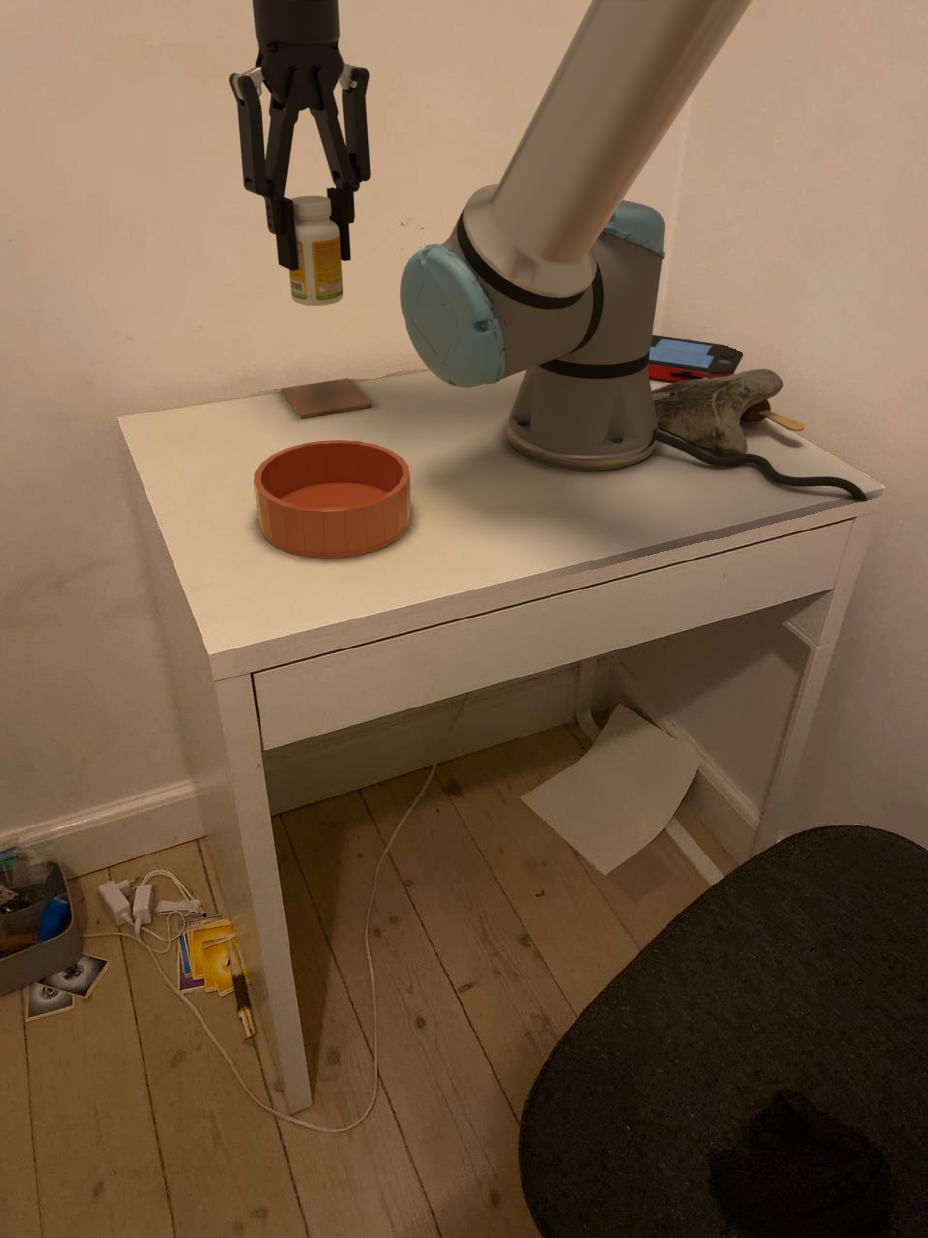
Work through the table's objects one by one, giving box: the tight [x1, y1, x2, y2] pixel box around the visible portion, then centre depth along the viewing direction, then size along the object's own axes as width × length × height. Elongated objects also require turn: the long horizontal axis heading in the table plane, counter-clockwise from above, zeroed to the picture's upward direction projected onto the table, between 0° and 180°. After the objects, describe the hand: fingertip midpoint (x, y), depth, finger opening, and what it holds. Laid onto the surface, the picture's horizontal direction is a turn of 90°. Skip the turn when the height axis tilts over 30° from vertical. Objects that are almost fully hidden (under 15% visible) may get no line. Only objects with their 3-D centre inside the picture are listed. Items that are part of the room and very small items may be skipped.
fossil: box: [652, 368, 784, 455], centre depth 100 cm, size 11×5×15 cm
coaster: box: [280, 377, 373, 419], centre depth 106 cm, size 8×8×1 cm
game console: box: [648, 334, 744, 383], centre depth 115 cm, size 14×13×2 cm
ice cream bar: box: [701, 375, 805, 432], centre depth 101 cm, size 3×5×15 cm
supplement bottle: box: [288, 195, 344, 307], centre depth 96 cm, size 5×5×10 cm
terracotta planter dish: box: [253, 439, 412, 559], centre depth 83 cm, size 13×13×4 cm
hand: (315, 261), depth 97 cm, fingers closed on supplement bottle, 5 cm apart
